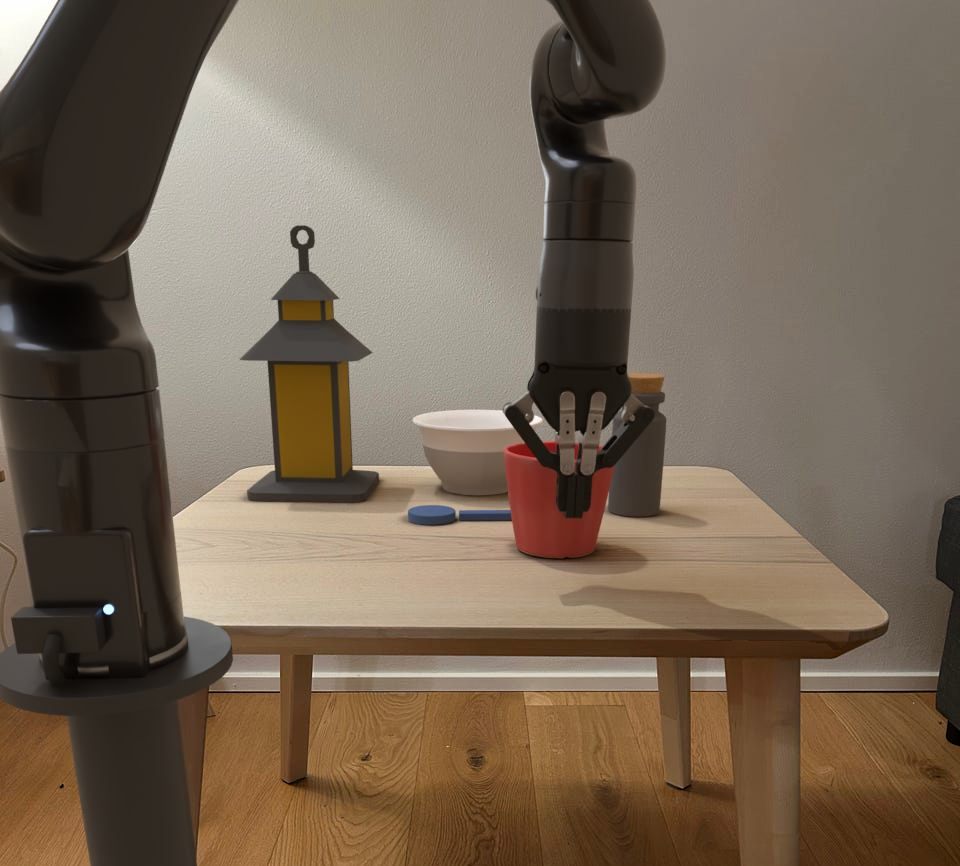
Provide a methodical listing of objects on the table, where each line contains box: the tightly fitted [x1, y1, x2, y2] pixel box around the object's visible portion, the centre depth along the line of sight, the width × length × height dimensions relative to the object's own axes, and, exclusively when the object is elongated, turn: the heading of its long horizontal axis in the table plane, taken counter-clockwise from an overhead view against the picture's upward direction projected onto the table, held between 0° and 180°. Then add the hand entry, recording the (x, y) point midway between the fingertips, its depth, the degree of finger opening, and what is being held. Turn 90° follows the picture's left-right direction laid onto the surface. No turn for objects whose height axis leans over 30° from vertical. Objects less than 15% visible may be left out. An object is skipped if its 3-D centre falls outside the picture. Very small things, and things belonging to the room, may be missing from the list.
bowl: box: [411, 409, 544, 496], centre depth 120 cm, size 16×16×9 cm
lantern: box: [239, 224, 380, 503], centre depth 115 cm, size 14×14×30 cm
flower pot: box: [504, 440, 615, 559], centre depth 94 cm, size 11×11×10 cm
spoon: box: [407, 504, 512, 526], centre depth 106 cm, size 18×5×1 cm, turn 94°
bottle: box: [607, 372, 667, 518], centre depth 108 cm, size 6×6×15 cm
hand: (572, 516), depth 83 cm, fingers closed
